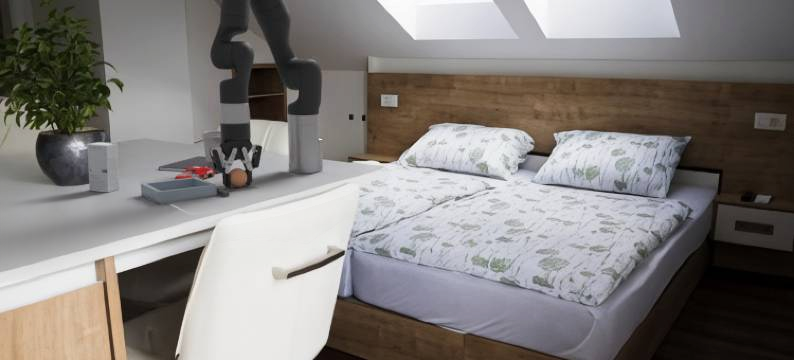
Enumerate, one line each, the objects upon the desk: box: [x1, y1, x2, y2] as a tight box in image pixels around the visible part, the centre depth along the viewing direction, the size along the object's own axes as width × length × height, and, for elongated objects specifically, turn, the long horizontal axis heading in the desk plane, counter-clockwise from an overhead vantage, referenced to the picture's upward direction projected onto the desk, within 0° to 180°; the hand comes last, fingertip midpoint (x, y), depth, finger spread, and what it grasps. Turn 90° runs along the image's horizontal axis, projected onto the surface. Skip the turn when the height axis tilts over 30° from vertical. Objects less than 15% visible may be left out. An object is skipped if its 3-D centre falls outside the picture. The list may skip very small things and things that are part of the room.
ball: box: [229, 167, 247, 187], centre depth 166 cm, size 5×5×5 cm
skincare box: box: [86, 141, 120, 193], centre depth 162 cm, size 6×4×12 cm
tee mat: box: [216, 184, 259, 193], centre depth 166 cm, size 8×8×1 cm
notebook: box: [158, 155, 207, 172], centre depth 201 cm, size 13×2×21 cm
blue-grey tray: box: [140, 177, 218, 206], centre depth 156 cm, size 14×13×3 cm
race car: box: [173, 166, 215, 181], centre depth 176 cm, size 13×5×4 cm, turn 158°
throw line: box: [216, 186, 230, 198], centre depth 162 cm, size 1×18×1 cm, turn 39°
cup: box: [201, 130, 224, 175], centre depth 188 cm, size 7×7×12 cm
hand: (237, 185), depth 166 cm, fingers closed on ball, 5 cm apart
